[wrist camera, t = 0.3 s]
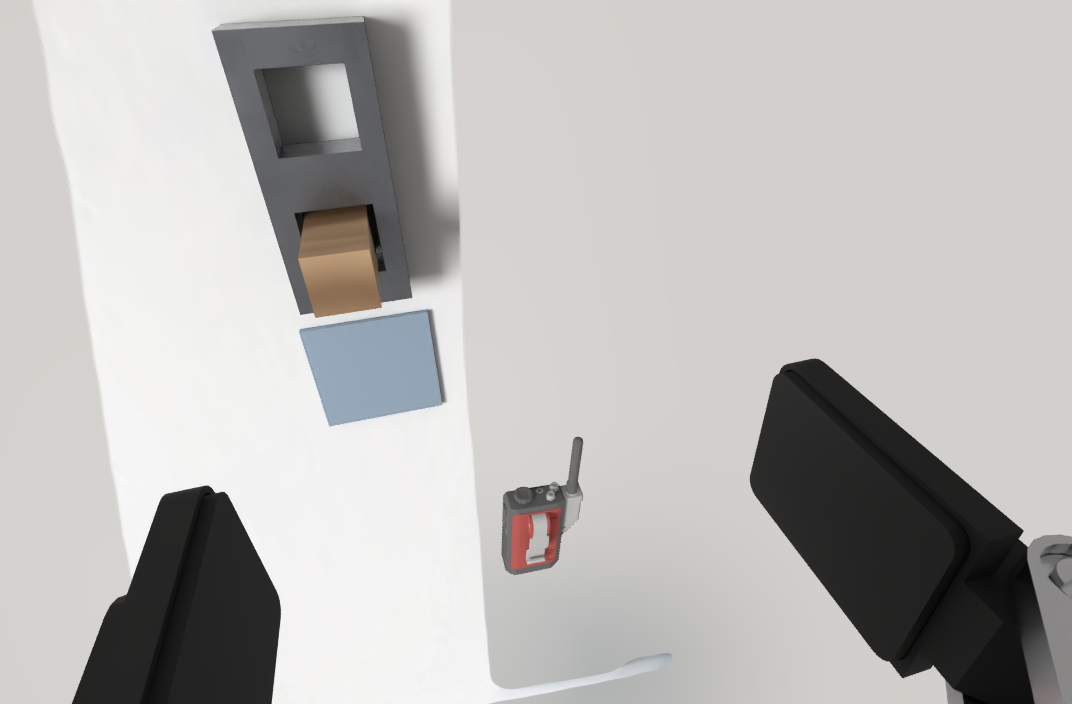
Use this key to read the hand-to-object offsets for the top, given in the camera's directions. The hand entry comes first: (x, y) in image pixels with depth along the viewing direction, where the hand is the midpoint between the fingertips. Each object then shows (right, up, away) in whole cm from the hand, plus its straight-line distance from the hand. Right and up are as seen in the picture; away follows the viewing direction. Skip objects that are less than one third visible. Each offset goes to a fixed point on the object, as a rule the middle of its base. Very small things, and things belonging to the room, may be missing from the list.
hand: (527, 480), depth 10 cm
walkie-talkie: (0, -14, +56) cm, 57 cm away
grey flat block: (-14, +15, +29) cm, 36 cm away
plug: (-14, +11, +32) cm, 37 cm away
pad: (-13, +1, +39) cm, 42 cm away
